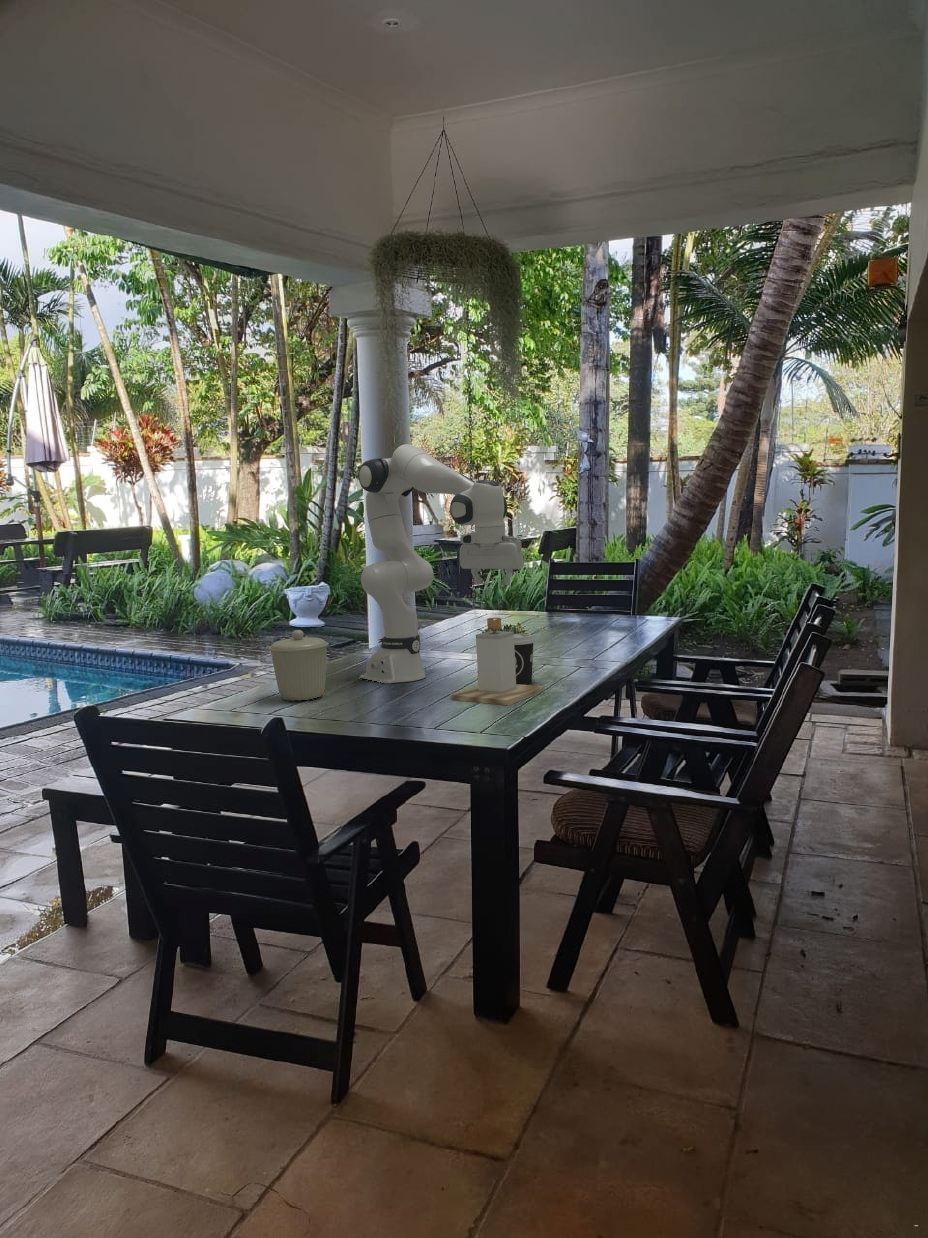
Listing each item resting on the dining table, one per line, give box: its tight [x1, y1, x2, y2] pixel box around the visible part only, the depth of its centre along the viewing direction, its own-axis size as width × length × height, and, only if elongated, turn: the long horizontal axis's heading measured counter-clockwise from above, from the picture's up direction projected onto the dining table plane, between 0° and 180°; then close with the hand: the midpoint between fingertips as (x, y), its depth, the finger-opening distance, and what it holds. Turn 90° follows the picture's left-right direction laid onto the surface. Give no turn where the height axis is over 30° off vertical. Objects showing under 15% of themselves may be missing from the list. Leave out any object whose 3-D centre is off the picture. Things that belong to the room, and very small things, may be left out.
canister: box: [267, 629, 330, 701], centre depth 298 cm, size 18×18×21 cm
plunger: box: [486, 617, 502, 634], centre depth 286 cm, size 6×6×20 cm
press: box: [475, 630, 516, 694], centre depth 288 cm, size 8×11×17 cm
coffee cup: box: [514, 633, 536, 685], centre depth 303 cm, size 10×10×15 cm
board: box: [449, 684, 545, 706], centre depth 288 cm, size 20×20×2 cm
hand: (492, 584), depth 284 cm, fingers open, 8 cm apart
